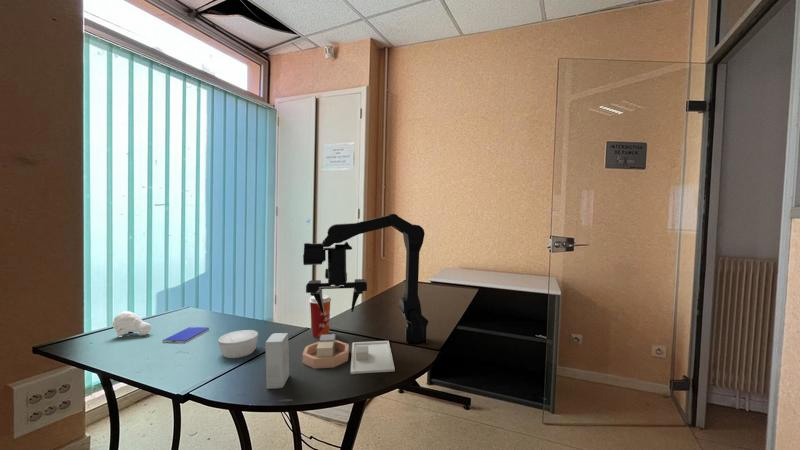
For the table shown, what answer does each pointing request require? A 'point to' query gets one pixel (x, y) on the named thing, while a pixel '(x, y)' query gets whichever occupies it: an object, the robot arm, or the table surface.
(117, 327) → the white animal figurine
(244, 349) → the ramekin
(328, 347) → the cream cube
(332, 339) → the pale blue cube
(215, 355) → the table surface
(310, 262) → the robot arm
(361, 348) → the beige grey block
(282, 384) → the skincare box
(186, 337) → the hard drive
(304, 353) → the terracotta dish
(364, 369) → the parts tray
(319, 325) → the paper cup
